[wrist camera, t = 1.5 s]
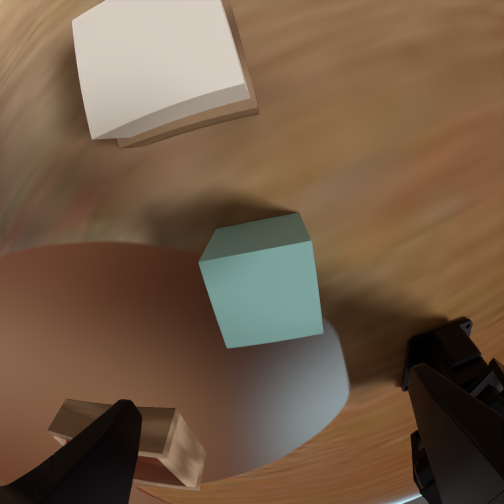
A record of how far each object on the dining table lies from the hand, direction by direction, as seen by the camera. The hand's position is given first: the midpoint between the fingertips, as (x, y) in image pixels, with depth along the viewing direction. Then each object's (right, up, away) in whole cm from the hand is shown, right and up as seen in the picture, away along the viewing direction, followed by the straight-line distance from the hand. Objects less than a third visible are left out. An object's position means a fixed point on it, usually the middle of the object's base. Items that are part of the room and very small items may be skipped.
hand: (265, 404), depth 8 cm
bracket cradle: (-14, -16, +19) cm, 28 cm away
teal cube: (0, +4, +10) cm, 11 cm away
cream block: (-4, +13, +3) cm, 14 cm away
